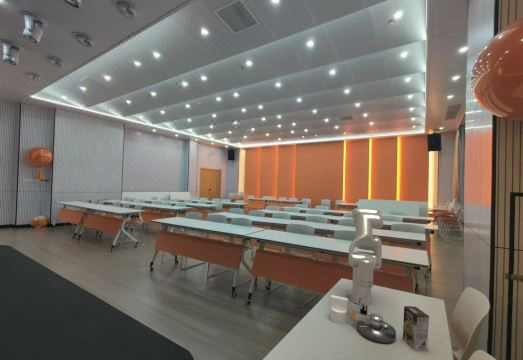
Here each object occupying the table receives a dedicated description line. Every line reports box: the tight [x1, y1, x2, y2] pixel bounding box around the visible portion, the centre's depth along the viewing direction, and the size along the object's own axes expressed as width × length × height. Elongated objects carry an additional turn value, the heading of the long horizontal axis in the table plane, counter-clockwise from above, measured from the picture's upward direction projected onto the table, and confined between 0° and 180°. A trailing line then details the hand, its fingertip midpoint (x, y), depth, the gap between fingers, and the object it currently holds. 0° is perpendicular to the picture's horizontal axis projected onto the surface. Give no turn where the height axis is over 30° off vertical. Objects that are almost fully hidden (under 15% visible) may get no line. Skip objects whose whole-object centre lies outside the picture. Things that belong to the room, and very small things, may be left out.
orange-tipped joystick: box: [351, 309, 384, 330], centre depth 131 cm, size 15×6×5 cm, turn 59°
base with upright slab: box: [329, 294, 349, 325], centre depth 140 cm, size 9×9×12 cm
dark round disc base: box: [356, 320, 397, 344], centre depth 128 cm, size 18×18×4 cm
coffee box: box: [402, 305, 430, 352], centre depth 120 cm, size 9×6×16 cm
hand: (363, 317), depth 134 cm, fingers closed
